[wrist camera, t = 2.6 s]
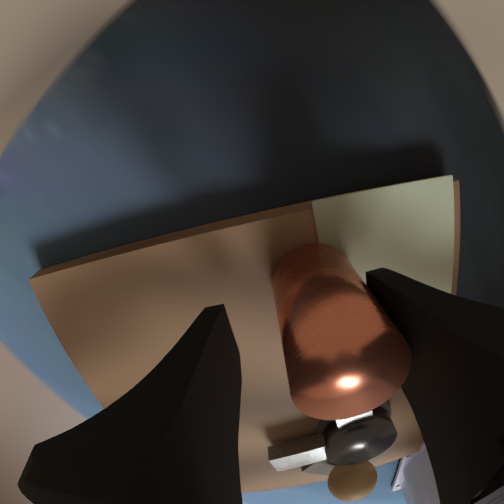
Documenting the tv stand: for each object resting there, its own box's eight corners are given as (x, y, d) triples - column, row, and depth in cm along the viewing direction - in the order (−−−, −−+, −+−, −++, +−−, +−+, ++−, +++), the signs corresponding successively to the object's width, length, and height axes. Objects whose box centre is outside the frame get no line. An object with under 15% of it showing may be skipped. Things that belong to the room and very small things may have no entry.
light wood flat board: (414, 439, 19) (434, 484, 14) (182, 483, 20) (177, 529, 15) (442, 169, 11) (517, 192, 7) (39, 263, 12) (-19, 312, 8)
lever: (390, 429, 15) (416, 496, 10) (282, 463, 16) (289, 533, 11) (353, 226, 11) (427, 298, 6) (171, 292, 11) (132, 393, 6)
